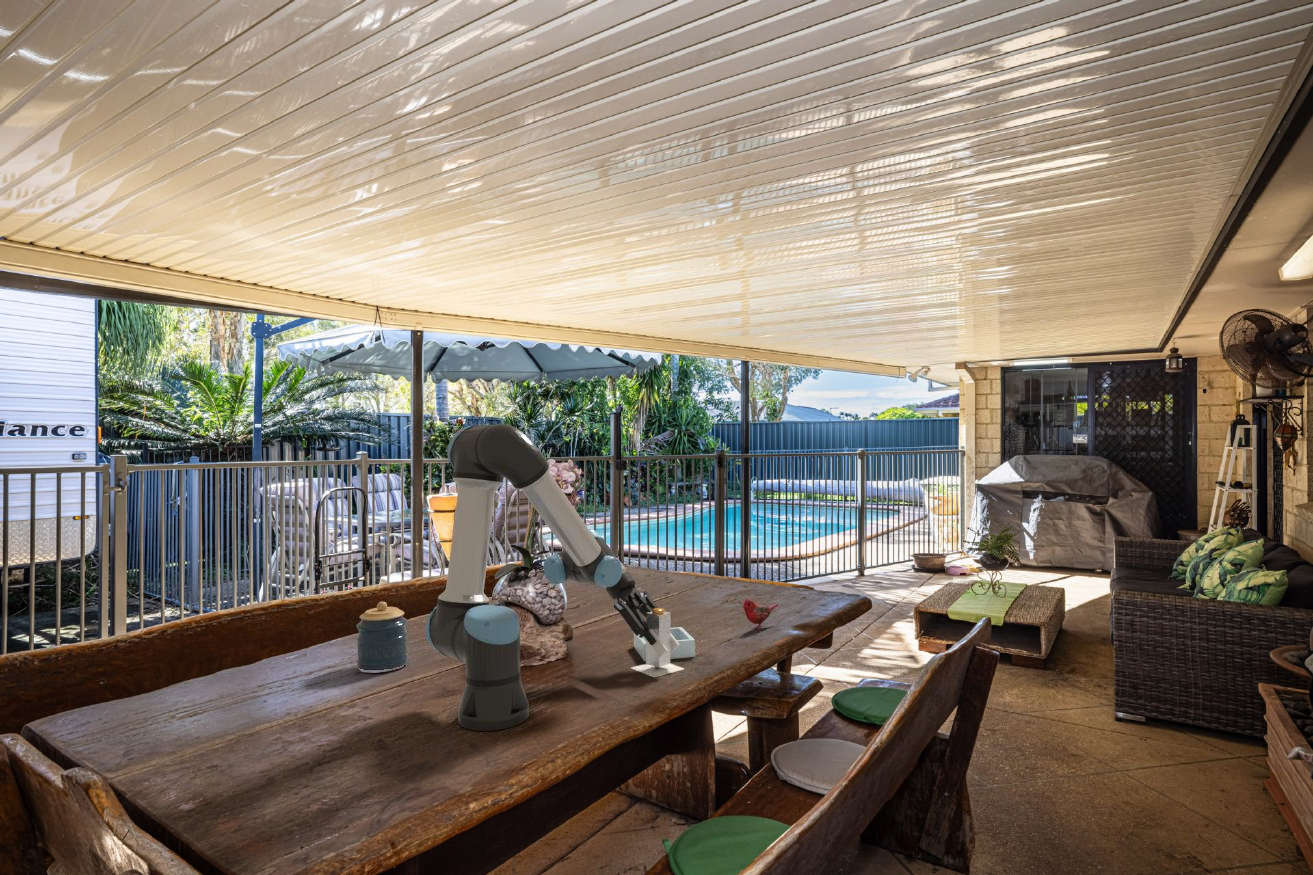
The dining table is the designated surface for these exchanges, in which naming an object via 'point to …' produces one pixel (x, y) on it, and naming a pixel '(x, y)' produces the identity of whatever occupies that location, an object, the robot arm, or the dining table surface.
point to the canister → (382, 638)
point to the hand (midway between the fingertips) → (669, 650)
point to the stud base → (657, 669)
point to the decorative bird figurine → (757, 612)
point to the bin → (681, 651)
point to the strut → (662, 628)
